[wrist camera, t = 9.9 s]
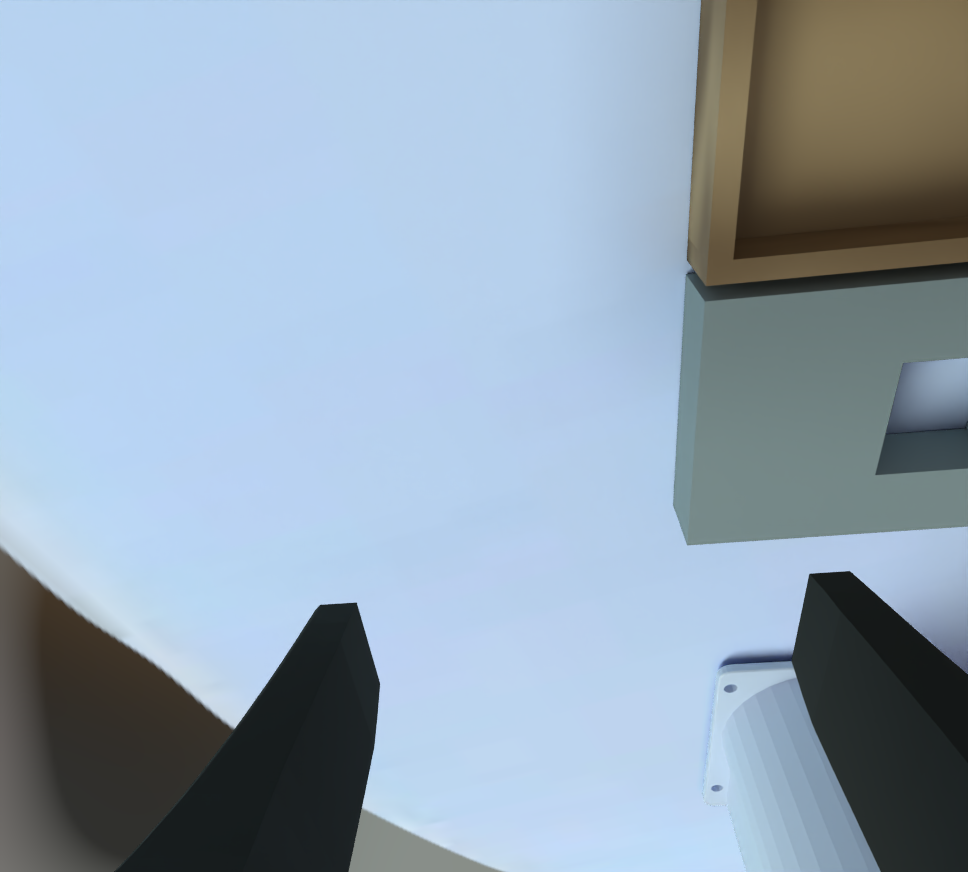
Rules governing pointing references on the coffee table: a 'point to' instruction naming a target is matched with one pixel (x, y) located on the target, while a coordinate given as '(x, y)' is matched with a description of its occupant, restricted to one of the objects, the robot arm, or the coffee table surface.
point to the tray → (828, 138)
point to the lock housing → (816, 406)
